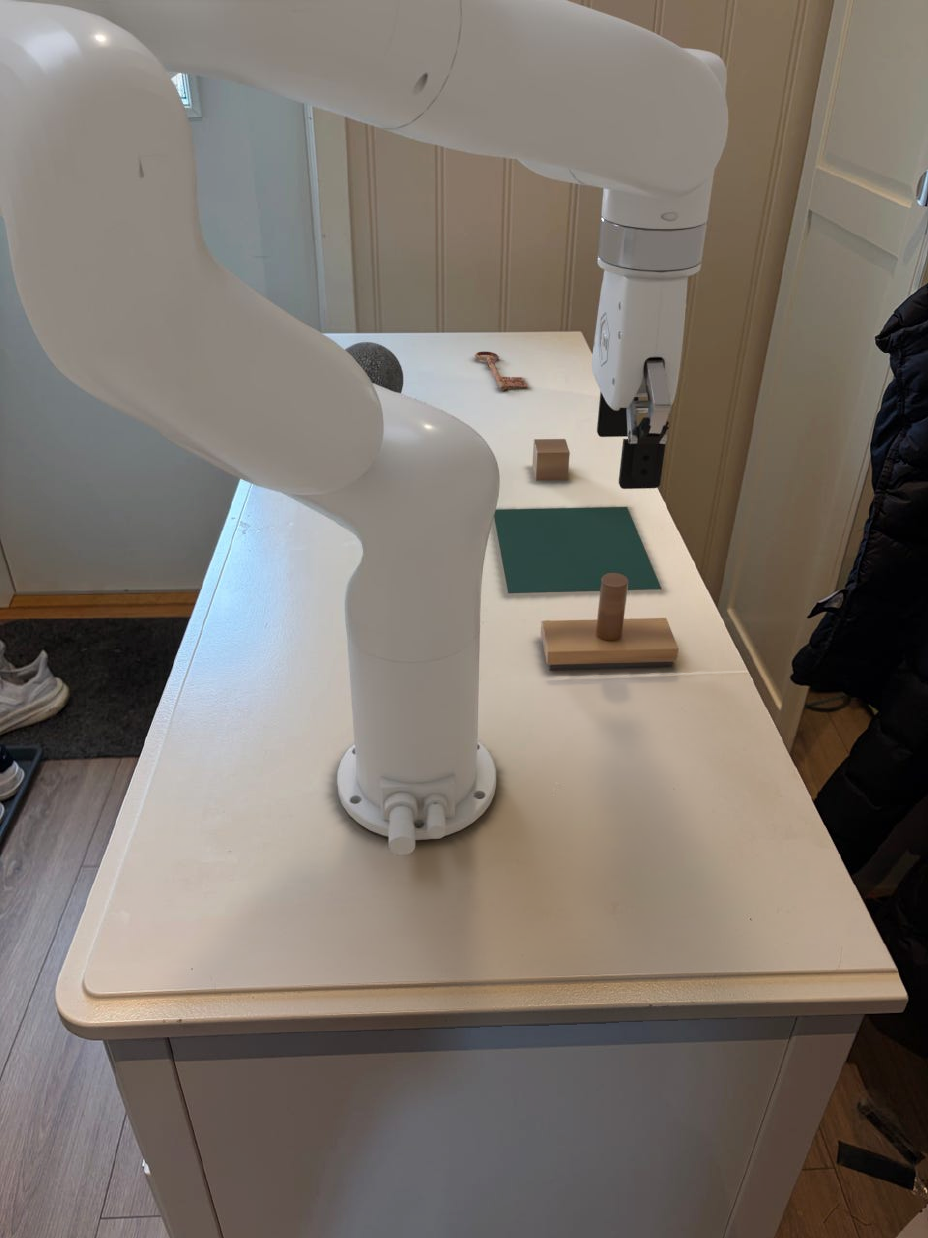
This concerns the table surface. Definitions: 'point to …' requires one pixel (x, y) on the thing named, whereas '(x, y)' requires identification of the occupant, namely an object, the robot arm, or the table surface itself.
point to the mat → (571, 549)
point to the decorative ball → (378, 365)
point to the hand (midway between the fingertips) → (626, 459)
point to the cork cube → (550, 459)
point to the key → (499, 379)
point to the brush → (609, 636)
